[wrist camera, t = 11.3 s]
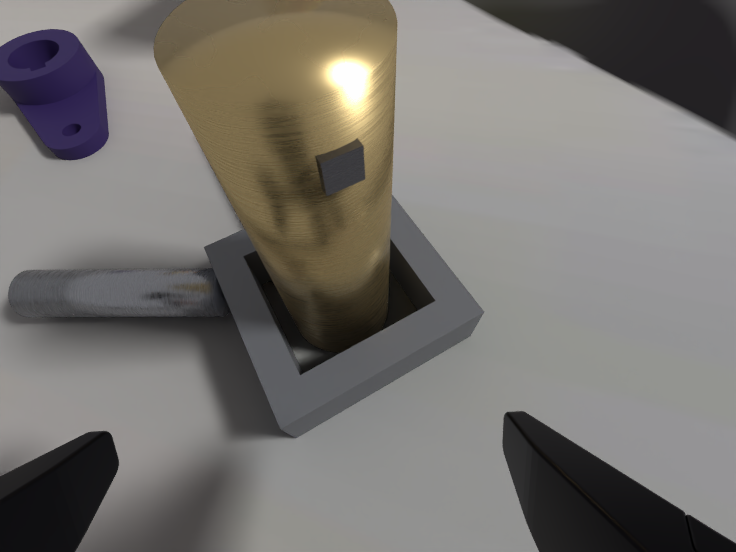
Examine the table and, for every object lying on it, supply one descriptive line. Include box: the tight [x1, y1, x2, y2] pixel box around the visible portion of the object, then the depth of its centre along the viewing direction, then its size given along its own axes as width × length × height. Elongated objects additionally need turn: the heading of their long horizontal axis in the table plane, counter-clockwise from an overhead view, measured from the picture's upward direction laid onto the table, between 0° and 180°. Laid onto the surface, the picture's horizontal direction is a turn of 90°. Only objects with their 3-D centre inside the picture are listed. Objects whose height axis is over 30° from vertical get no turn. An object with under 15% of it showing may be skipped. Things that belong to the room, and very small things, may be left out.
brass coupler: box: [154, 0, 397, 352], centre depth 14 cm, size 5×5×14 cm
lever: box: [0, 29, 109, 160], centre depth 28 cm, size 12×6×3 cm, turn 32°
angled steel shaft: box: [8, 268, 230, 317], centre depth 19 cm, size 10×2×2 cm, turn 89°
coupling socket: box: [204, 195, 484, 438], centre depth 19 cm, size 10×10×3 cm
